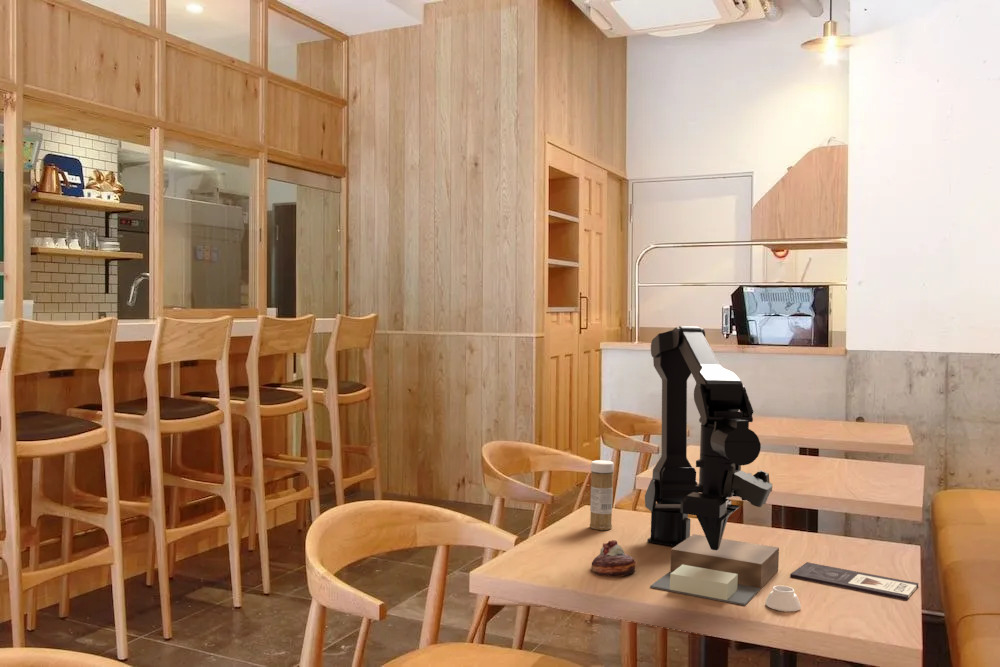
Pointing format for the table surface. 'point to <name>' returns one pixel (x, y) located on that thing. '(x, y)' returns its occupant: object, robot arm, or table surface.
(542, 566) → the table surface
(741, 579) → the wooden block
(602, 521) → the sprinkles bottle
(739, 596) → the mat
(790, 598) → the lidless jar
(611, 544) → the pastry
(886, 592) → the chocolate bar
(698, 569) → the cream block
